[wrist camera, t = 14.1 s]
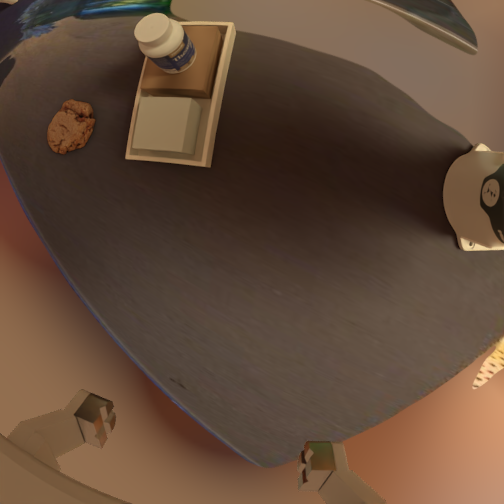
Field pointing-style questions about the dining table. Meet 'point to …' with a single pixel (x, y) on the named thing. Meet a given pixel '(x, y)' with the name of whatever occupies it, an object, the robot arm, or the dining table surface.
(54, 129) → the cookie
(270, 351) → the dining table surface
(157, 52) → the pill bottle
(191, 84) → the walnut block
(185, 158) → the box
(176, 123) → the pale green block
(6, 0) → the cup
